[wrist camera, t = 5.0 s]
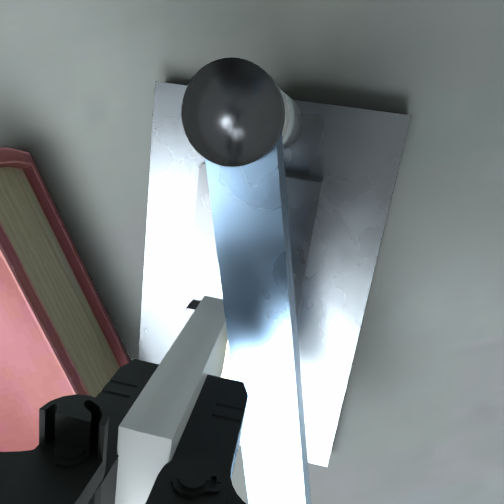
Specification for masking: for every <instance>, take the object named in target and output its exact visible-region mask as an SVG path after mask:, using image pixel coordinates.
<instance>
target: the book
mask: <svg viewBox="0 0 504 504" xmlns="http://www.w3.org/2000/svg"><path fill="white" fill-rule="evenodd" d="M129 362H131V361H130V359H129V357H128V355H127V353H126V351H125V349H124V347H123V345H122V343H121V341H120V339H119V337H118V334H117V332H116V330H115V328H114V326H113V324H112V322H111V320H110V318H109V316H108V314H107V312H106V310H105V308H104V306H103V303H102V301H101V299H100V297H99V295H98V293H97V291H96V289H95V287H94V285H93V283H92V281H91V279H90V277H89V275H88V272H87V270H86V268H85V266H84V264H83V262H82V260H81V258H80V256H79V254H78V252H77V250H76V248H75V246H74V244H73V241H72V239H71V237H70V235H69V233H68V231H67V229H66V227H65V225H64V223H63V221H62V219H61V217H60V215H59V213H58V210H57V208H56V206H55V204H54V202H53V200H52V198H51V196H50V194H49V192H48V190H47V188H46V186H45V184H44V182H43V179H42V177H41V175H40V173H39V171H38V169H37V167H36V165H35V163H34V161H33V159H32V157H31V155H30V153H29V152H25V151H21V150H17V149H13V148H9V147H3V148H0V452H13V451H27V450H33V449H35V448H36V447H37V446H38V445H39V409H40V408H41V407H42V406H44V405H45V404H47V403H48V402H49V401H52V400H54V399H57V398H60V397H62V396H68V395H76V394H79V395H88V396H92V397H96V396H97V395H98V394H99V393H100V392H101V391H102V389H103V388H104V386H105V385H106V384H107V383H108V382H110V379H111V378H112V377H113V375H114V374H115V373H116V372H117V370H118V369H119V368H120V367H122V366H124V365H125V364H127V363H129Z"/></svg>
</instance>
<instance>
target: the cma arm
mask: <svg viewBox="0 0 504 504" xmlns="http://www.w3.org/2000/svg"><path fill="white" fill-rule="evenodd" d="M181 115H182V123H183V128H184V131H185V134H186V136H187V138H188V140H189V142H190V143H191V145H192V146H193V148H194V149H195V150H196V151H197V152H198V153H199V154H200V155H201V156H202V157H204V158H205V162H206V170H207V178H208V186H209V194H210V202H211V210H212V218H213V226H214V234H215V242H216V249H217V257H218V265H219V273H220V281H221V289H222V297H223V305H224V313H225V318H227V319H226V329H227V337H228V345H229V353H230V361H231V368H232V376H233V380H236V381H240V382H244V385H245V388H246V391H247V394H248V399H247V405H246V410H245V415H244V421H243V426H242V431H241V437H240V440H241V448H242V456H243V464H244V472H245V479H246V487H247V495H248V503H249V504H311V497H310V484H309V471H308V459H307V446H306V433H305V420H304V407H303V395H302V382H301V369H300V356H299V343H298V330H297V318H296V305H295V292H294V279H293V266H292V254H291V241H290V228H289V215H288V202H287V189H286V177H285V164H284V151H283V138H282V130H283V127H284V121H285V106H284V101H283V97H282V94H281V92H280V89H279V88H278V86H277V84H276V83H275V81H274V80H273V79H272V78H271V77H270V76H269V75H268V74H267V73H266V72H265V71H264V70H263V69H262V68H260V67H259V66H258V65H256V64H254V63H252V62H250V61H247V60H244V59H240V58H223V59H219V60H216V61H213V62H211V63H209V64H207V65H206V66H204V67H203V68H202V69H200V70H199V71H198V72H197V73H196V74H195V75H194V77H193V78H192V79H191V81H190V82H189V84H188V86H187V88H186V91H185V93H184V97H183V101H182V109H181Z"/></svg>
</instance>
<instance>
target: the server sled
mask: <svg viewBox="0 0 504 504" xmlns="http://www.w3.org/2000/svg"><path fill="white" fill-rule="evenodd" d="M186 88H187V85H179V84H172V83H164V82H157V81H155V92H154V108H153V125H152V141H151V158H150V174H149V191H148V207H147V224H146V241H145V257H144V274H143V290H142V307H141V323H140V340H139V356H138V360H142V361H146V362H150V363H155V364H160V363H161V361H162V360H163V358H164V357H165V355H166V354H167V352H168V351H169V349H170V347H171V346H172V344H173V343H174V341H175V340H176V338H177V337H178V335H179V334H180V332H181V331H182V329H183V328H184V326H185V325H186V323H187V322H188V320H189V319H190V317H191V315H192V314H193V312H194V311H195V309H196V308H197V306H198V305H199V303H200V302H201V300H202V299H203V297H204V296H209V297H214V298H219V299H223V297H222V289H221V281H220V273H219V265H218V257H217V249H216V242H215V234H214V226H213V218H212V210H211V202H210V194H209V186H208V178H207V170H206V162H205V158H204V157H202V156H201V155H200V154H199V153H198V152H197V151H196V150H195V149H194V148H193V146H192V145H191V143H190V142H189V140H188V138H187V136H186V134H185V131H184V128H183V123H182V115H181V109H182V101H183V97H184V93H185V91H186ZM280 92H281V94H282V97H283V101H284V106H285V121H284V127H283V130H282V138H283V151H284V164H285V177H286V189H287V202H288V215H289V228H290V241H291V254H292V266H293V279H294V292H295V305H296V318H297V330H298V343H299V356H300V369H301V382H302V395H303V407H304V420H305V433H306V446H307V459H308V463H312V464H316V465H320V466H324V467H327V466H328V461H329V457H330V453H331V449H332V445H333V441H334V436H335V432H336V428H337V424H338V420H339V415H340V411H341V407H342V403H343V399H344V394H345V390H346V386H347V382H348V378H349V374H350V369H351V365H352V361H353V357H354V353H355V348H356V344H357V340H358V336H359V332H360V328H361V323H362V319H363V315H364V311H365V307H366V302H367V298H368V294H369V290H370V286H371V281H372V277H373V273H374V269H375V265H376V261H377V256H378V252H379V248H380V244H381V240H382V235H383V231H384V227H385V223H386V219H387V215H388V210H389V206H390V202H391V198H392V194H393V189H394V185H395V181H396V177H397V173H398V168H399V164H400V160H401V156H402V152H403V148H404V143H405V139H406V135H407V131H408V127H409V122H410V118H411V115H405V114H398V113H390V112H383V111H375V110H368V109H360V108H353V107H345V106H337V105H330V104H322V103H315V102H307V101H300V100H293V99H292V98H291V97H289V96H288V95H287V94H286V93H284V92H283V91H282V90H281V89H280ZM221 377H222V378H227V379H231V380H233V376H232V368H231V361H230V353H229V345H228V342H227V348H226V355H225V361H224V367H223V372H222V375H221ZM239 445H241V440H240V442H239Z"/></svg>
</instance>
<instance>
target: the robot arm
mask: <svg viewBox="0 0 504 504" xmlns="http://www.w3.org/2000/svg"><path fill="white" fill-rule="evenodd" d="M226 319H227V318H225V313H224V305H223V299H219V298H214V297H209V296H204V297H203V299H202V300H201V302H200V303H199V305H198V306H197V308H196V309H195V311H194V312H193V314H192V315H191V317H190V319H189V320H188V322H187V323H186V325H185V326H184V328H183V329H182V331H181V332H180V334H179V335H178V337H177V338H176V340H175V341H174V343H173V344H172V346H171V347H170V349H169V351H168V352H167V354H166V355H165V357H164V358H163V360H162V361H161V363H160V364H155V363H150V362H146V361H142V360H137V359H134V360H133V361H131V362H129V363H127V364H125V365H124V366H122V367H120V368H119V369H118V370H117V372H116V373H115V374H114V375H113V377H112V378H111V379H110V382H108V383H107V384H106V385H105V386H104V388H103V389H102V391H101V392H100V393H99V394H98V395H97V396H96V397H92V396H88V395H79V394H76V395H68V396H62V397H60V398H57V399H54V400H52V401H49V402H48V403H47V404H45V405H44V406H42V407H41V408H40V409H39V445H38V446H37V447H36V448H35V449H33V450H27V451H13V452H0V504H246V503H245V502H243V501H242V499H241V498H240V497H239V496H238V495H237V493H236V492H235V490H234V488H233V486H232V482H231V477H232V473H233V468H234V464H235V459H236V455H237V451H238V446H239V442H240V437H241V431H242V426H243V421H244V415H245V410H246V405H247V399H248V394H247V391H246V388H245V385H244V382H240V381H236V380H231V379H227V378H222V377H221V375H222V372H223V367H224V361H225V355H226V348H227V342H228V337H227V329H226Z"/></svg>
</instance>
